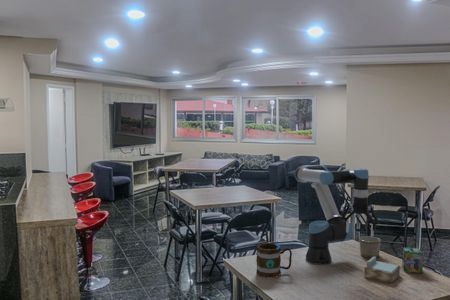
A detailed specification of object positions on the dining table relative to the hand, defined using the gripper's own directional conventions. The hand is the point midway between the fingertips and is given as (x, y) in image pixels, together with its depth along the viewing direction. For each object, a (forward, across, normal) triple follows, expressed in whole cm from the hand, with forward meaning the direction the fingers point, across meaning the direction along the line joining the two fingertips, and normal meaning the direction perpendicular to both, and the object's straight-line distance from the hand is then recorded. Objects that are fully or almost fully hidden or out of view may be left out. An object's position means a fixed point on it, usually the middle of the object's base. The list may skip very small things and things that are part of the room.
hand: (359, 234), depth 216 cm
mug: (+21, -37, -31) cm, 53 cm away
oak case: (+20, +13, -3) cm, 24 cm away
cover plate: (+16, +13, -3) cm, 21 cm away
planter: (+21, -2, +29) cm, 36 cm away
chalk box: (+21, +25, +17) cm, 36 cm away
